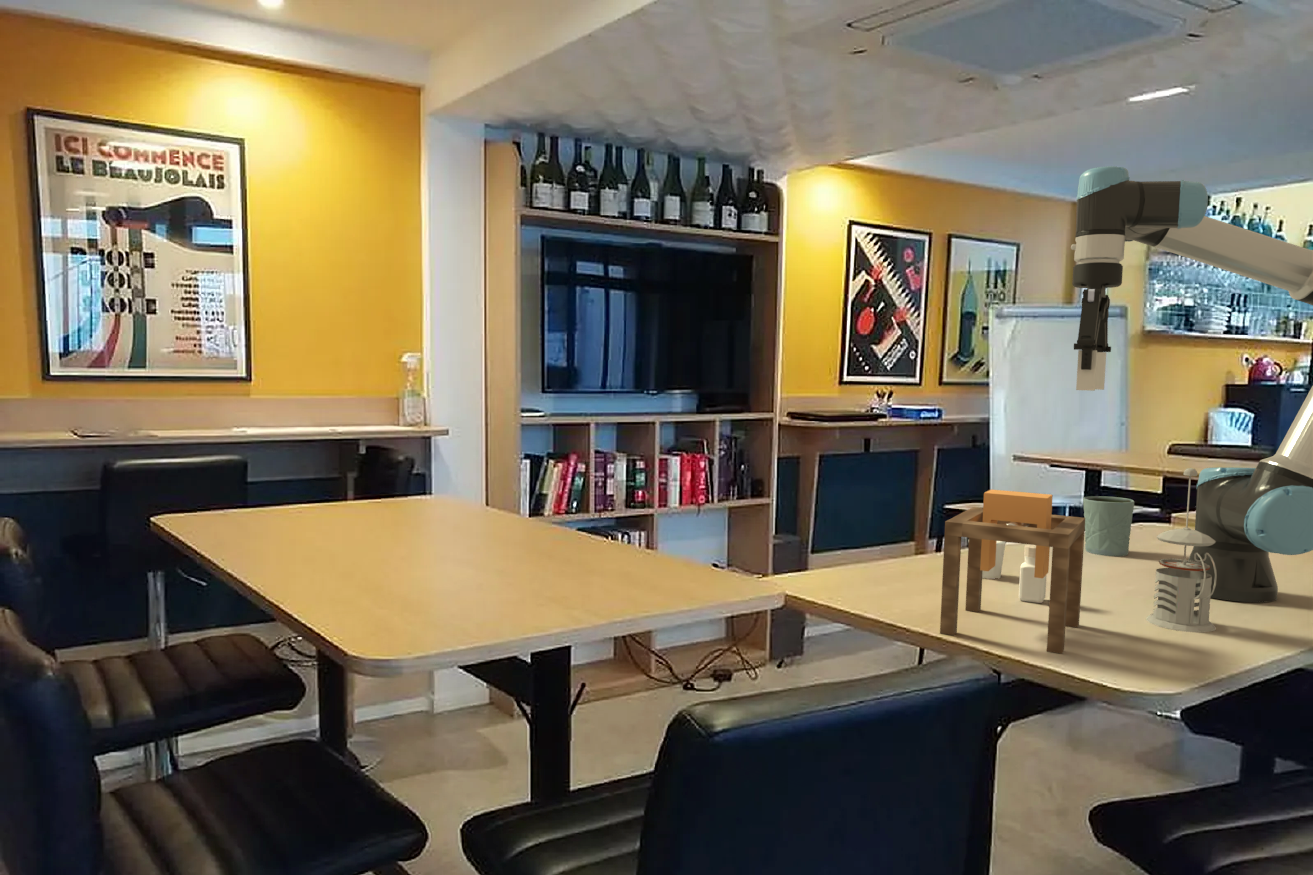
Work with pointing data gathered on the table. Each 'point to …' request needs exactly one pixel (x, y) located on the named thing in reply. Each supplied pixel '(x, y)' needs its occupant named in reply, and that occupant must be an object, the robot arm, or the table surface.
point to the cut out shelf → (1061, 537)
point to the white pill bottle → (1031, 579)
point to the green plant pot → (1107, 525)
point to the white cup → (996, 562)
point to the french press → (1184, 582)
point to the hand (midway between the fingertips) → (1090, 390)
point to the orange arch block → (1016, 510)
